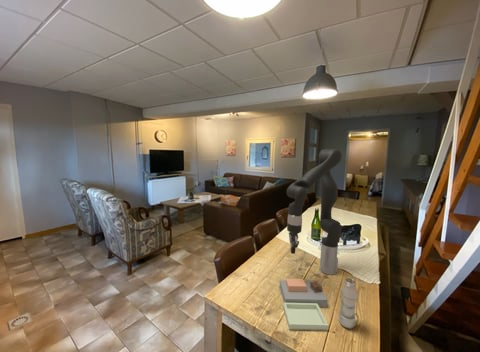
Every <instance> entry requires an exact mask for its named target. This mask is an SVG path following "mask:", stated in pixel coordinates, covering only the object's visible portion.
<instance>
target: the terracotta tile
mask: <svg viewBox="0 0 480 352" xmlns="http://www.w3.org/2000/svg"><path fill="white" fill-rule="evenodd" d="M285 280H286V286H287V289H288V292H306V290H307V286H306V284H305V282H304V281H305V280H304V278H285Z"/></svg>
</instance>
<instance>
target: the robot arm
mask: <svg viewBox="0 0 480 352" xmlns="http://www.w3.org/2000/svg"><path fill="white" fill-rule="evenodd" d="M341 160H342V152H341V151H340V150H339V149H336V148H329V149H328V148H325V149H321V150H320V151H319V154H318V165H317V166H315V167H313V168H311V169H309V170H308V171H307V172H306V173H304V174H303V176H301V178H299V179H297V180H295V181H294V182H292V183H291V184H290V185H289V186H288V187H287V189H286V195H287V196H288V197H289V198H290V199H293V200H294V202H290V203H289V205H288V213H287V224H286V225H287V226H286V230H287V232H288V237H289V244H290V245H289V246H290V253H291V254H293V255H294V254H296V249H297V248H298V247H299V244H300V240H298V239H299V234H300V233H302V226H303V207H304V204H305V202H306V199H307V195H308V194H307V190H308V189H311V188H312V187H313V186H314V185H315V183H316V182H318V181H319V179H320V216H319V217H320V218H319V227H320V229H321V230H322V231H323V232H325V233H327V235H326V236H324V237H322V238H321V246H320V257H319V271H320V272H322V273H324V274H327V275H335V274H338V267H339V258H338V250H339V248H338V247H339V243H340V241H341V234H342V233H341V231H342V225H341V222H340V221H339V220H336V219H335V218H332V209H333V207H334V206H335V204H336V202H337V200H338V197H339V196H338V194H339V193H338V185H337V183H336V180H335V179H334V177H333V176H332V173H331V170H332V169H333V168H334V167H336V166H337V165H338V164H340V162H341Z"/></svg>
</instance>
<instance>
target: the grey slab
mask: <svg viewBox="0 0 480 352" xmlns="http://www.w3.org/2000/svg"><path fill="white" fill-rule="evenodd" d="M315 281H316V280H304V282H305V284H306V286H307V290H306V292H288V289H287V286H286V279H280V280H279V291H280V294H281V297H282V300H283V302H284V303H317V304H318V306H319V308H328V302H329V301H328V297H327V296H326V294H325V292H324V291H323V290H322V292H317V293H314V291H313V290H312V289H311V288H310V282H315Z"/></svg>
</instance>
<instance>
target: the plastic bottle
mask: <svg viewBox="0 0 480 352" xmlns="http://www.w3.org/2000/svg"><path fill="white" fill-rule="evenodd" d="M340 297H341V300H340V302H341V303H340V309H339V311H338V321H339V323H340V324H341V326H343V327H344V328H345V329H353V328H355V325H356V320H357V319H356V305H357V301H358V297H359V295H358V291H357V289H356V281H355V280H354V279H352V278H350V277H349V278H348V277H346V278H345V281H344V285H343V286H341V288H340Z"/></svg>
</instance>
